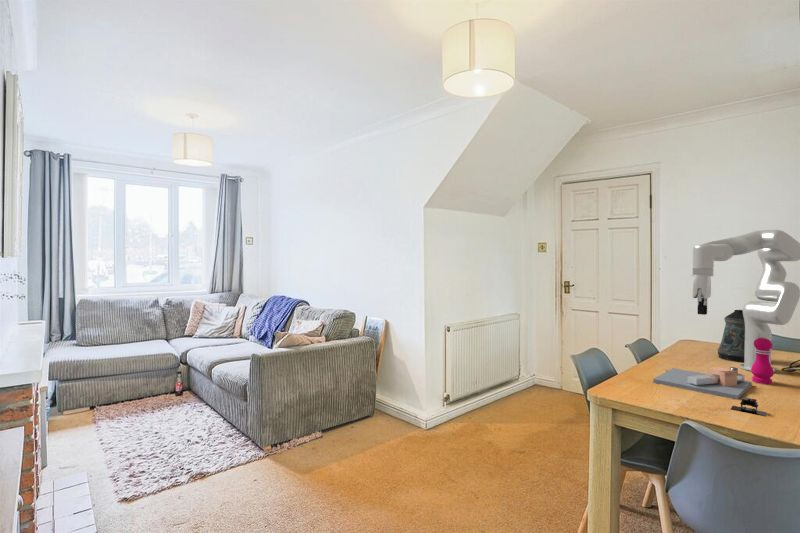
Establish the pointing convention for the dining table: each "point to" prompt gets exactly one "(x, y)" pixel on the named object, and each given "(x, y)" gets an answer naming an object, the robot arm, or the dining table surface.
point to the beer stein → (733, 338)
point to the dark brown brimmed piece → (749, 410)
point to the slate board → (680, 380)
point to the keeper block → (725, 376)
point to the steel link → (711, 378)
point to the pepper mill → (762, 361)
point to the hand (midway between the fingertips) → (702, 314)
